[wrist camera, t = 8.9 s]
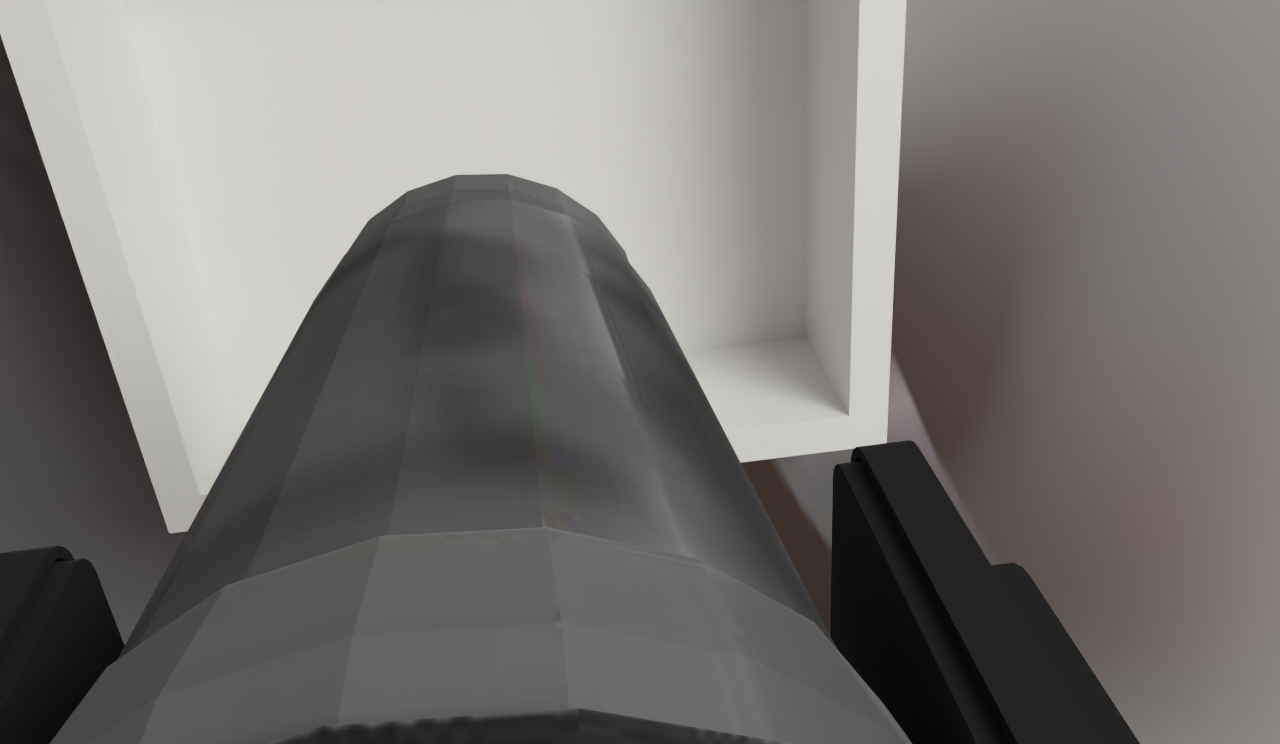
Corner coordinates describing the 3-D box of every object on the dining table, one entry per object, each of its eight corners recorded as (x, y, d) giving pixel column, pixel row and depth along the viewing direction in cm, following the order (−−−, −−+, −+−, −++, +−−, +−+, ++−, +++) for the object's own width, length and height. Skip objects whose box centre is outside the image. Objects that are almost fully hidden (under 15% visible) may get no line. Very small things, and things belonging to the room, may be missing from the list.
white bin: (-10, -314, 23) (-123, -327, 19) (847, -376, 25) (924, -402, 20) (211, 426, 32) (169, 533, 28) (834, 353, 33) (886, 444, 29)
